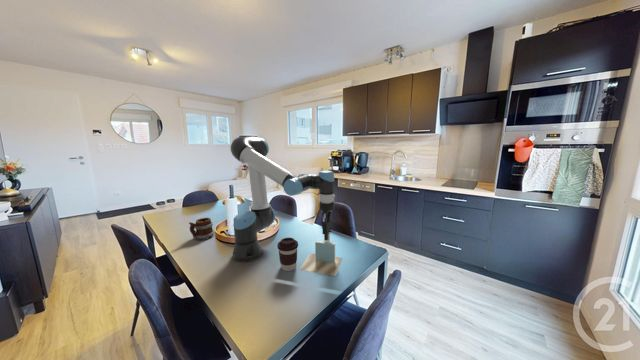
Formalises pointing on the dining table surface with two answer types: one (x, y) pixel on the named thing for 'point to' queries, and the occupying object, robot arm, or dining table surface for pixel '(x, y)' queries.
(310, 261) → the board
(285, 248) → the coffee cup
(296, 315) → the dining table surface
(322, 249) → the tile
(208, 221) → the mug
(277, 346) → the dining table surface
